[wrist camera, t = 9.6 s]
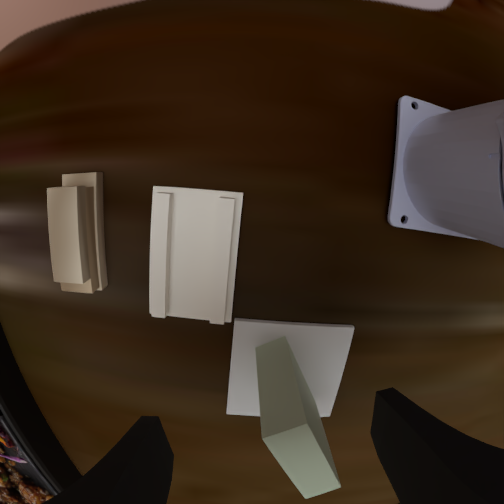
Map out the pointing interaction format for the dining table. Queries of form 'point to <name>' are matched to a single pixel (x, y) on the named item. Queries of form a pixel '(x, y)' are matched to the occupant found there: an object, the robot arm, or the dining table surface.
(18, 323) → the dining table surface
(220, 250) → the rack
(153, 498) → the robot arm
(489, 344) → the dining table surface
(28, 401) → the food platter
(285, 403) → the grey green block
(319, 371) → the mat
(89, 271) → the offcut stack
